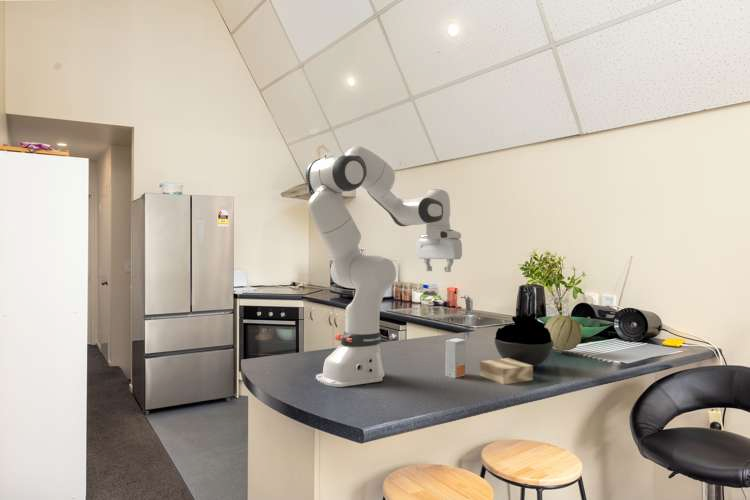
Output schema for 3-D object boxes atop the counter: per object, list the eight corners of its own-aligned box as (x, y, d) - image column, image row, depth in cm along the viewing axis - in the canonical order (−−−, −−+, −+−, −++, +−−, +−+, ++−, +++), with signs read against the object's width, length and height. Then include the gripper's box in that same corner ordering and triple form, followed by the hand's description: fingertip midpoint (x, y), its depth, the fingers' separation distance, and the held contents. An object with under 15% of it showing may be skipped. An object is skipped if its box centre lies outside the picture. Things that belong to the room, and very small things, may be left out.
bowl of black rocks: (513, 376, 160) (513, 319, 160) (484, 362, 180) (484, 312, 180) (565, 372, 166) (565, 317, 166) (531, 359, 185) (531, 310, 185)
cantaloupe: (536, 348, 205) (536, 313, 205) (562, 345, 211) (562, 311, 211) (563, 355, 192) (563, 317, 192) (589, 352, 198) (589, 315, 198)
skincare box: (455, 378, 158) (455, 342, 158) (444, 376, 161) (444, 340, 161) (466, 375, 162) (466, 339, 162) (455, 372, 165) (455, 337, 165)
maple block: (503, 385, 151) (503, 369, 151) (479, 376, 162) (479, 361, 162) (532, 380, 156) (532, 365, 156) (508, 372, 167) (508, 357, 167)
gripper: (412, 234, 185) (412, 270, 185) (452, 233, 169) (452, 272, 169) (424, 234, 189) (424, 270, 189) (464, 233, 173) (464, 272, 173)
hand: (438, 271), depth 179 cm, fingers open, 8 cm apart
